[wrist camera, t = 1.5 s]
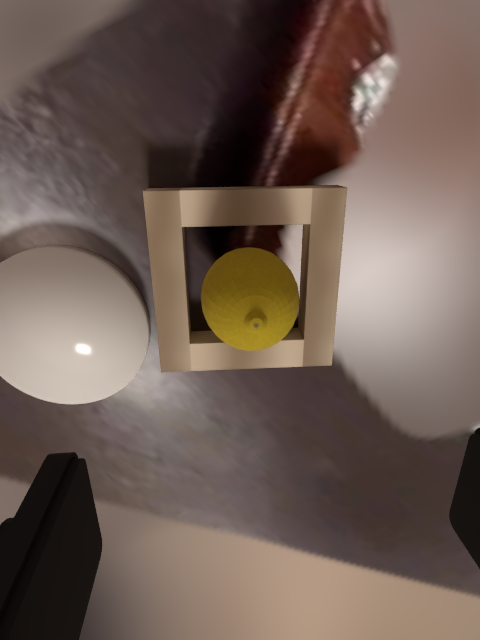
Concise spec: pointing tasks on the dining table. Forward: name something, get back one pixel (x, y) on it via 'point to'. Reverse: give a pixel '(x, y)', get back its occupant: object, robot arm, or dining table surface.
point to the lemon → (250, 299)
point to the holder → (241, 210)
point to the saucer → (69, 325)
